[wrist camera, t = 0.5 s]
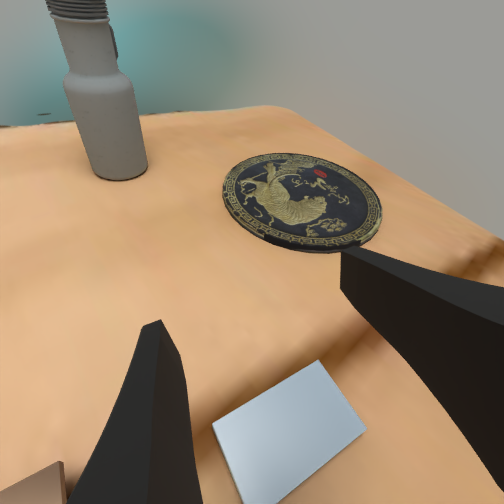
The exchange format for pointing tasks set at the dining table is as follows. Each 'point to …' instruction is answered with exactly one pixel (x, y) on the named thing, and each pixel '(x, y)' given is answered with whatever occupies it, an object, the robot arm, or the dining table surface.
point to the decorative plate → (302, 203)
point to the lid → (286, 434)
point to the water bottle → (99, 89)
